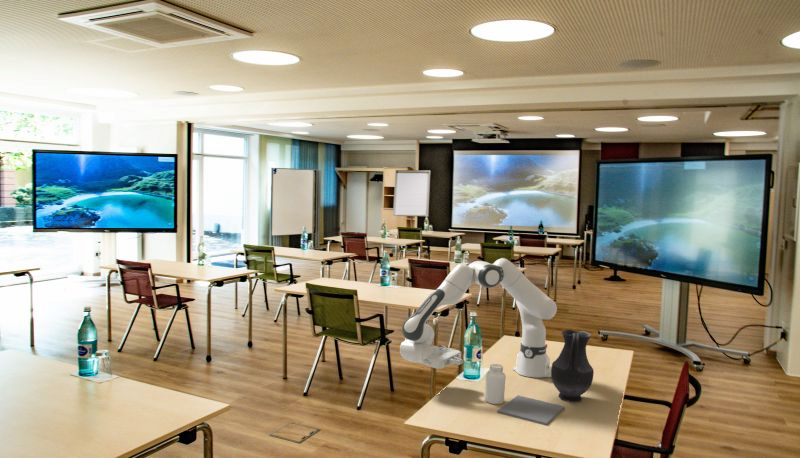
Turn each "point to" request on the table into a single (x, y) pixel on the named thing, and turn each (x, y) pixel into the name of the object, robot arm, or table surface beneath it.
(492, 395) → the pill bottle
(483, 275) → the robot arm
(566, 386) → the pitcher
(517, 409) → the mat
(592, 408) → the table surface
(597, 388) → the table surface
